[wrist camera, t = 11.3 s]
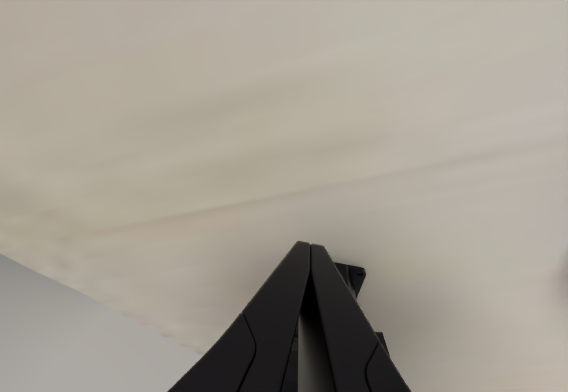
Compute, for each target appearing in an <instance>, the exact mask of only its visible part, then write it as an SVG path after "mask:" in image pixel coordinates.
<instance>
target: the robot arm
mask: <svg viewBox="0 0 568 392" xmlns="http://www.w3.org/2000/svg"><path fill="white" fill-rule="evenodd" d="M365 276H366V272H365V269H364V268H361V267H356V266H351V265H345V264H340V263H334V262H333V261H332V259H331V258H330V256H329V254H328V252H327V251H326V249H325V247H324V246H322V245H317V244H311V245H310V244H309V243H307V242H302V241H298V242H296V244H295V245H294V246H293V247H292V249H291V250H290V251H289V253H288V254H287V255H286V256H285V258H284V259H283V260H282V261H281V263H280V264H279V265H278V266H277V268H276V269H275V270H274V272H273V273H272V274H271V275H270V277H269V278H268V279H267V280H266V282H265V283H264V284H263V285H262V287H261V288H260V289H259V291H258V292H257V293H256V294H255V296H254V297H253V298H252V299H251V301H250V302H249V303H248V304H247V306H246V307H245V308H244V310H243V311H242V313H241V314H239V316H238V317H237V318H236V319H235V321H234V322H233V323H232V324H231V326H230V327H229V328H228V329H227V330H226V332H225V333H224V334H223V335H222V336H221V337H220V339H219V340H218V341H217V342H216V343H215V344H214V345H213V346H212V347H211V348H210V349H209V350H208V351H207V353H206V354H205V355H204V356H203V357H202V358H201V359H200V360H199V361H198V362H197V363H196V364H195V365H194V366H193V367H192V368H191V369H190V370H189V371H188V372H187V373H186V374H185V375H184V376H183V377H182V378H181V379H180V380H179V381H178V382H177V383H176V384H175V385H174V386H173V387H172V388H171V389H170V390H169V391H168V392H411V390H410V389H409V387H408V386H407V384H406V383H405V381H404V380H403V378H402V377H401V375H400V373H399V372H398V370H397V369H396V367H395V365H394V364H393V362H392V361H391V359H390V356H389V352H388V349H387V346H386V343H385V340H384V336H383V333H382V332H374V330H373V329H372V327H371V325H370V324H369V322H368V320H367V319H366V317H365V315H364V313H363V312H362V310H361V308H360V307H359V305H358V303H357V302H356V298H357V296H358V293H359V291H360V288H361V286H362V283H363V281H364V278H365Z"/></svg>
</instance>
